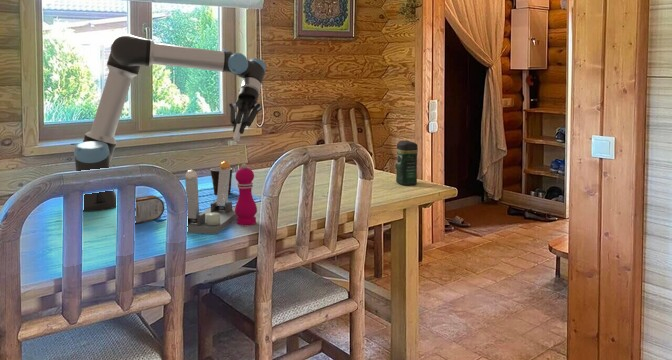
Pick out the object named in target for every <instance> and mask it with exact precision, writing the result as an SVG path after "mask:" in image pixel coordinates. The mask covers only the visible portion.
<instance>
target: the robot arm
mask: <svg viewBox="0 0 672 360" xmlns="http://www.w3.org/2000/svg"><path fill="white" fill-rule="evenodd" d="M152 65H158V66H159V65H160V66H168V67H175V68H176V67H179V68H187V69H194V70H204V71H205V70H206V71H213V72H214V71H215V72H223V73H229V74H232V75H235V76H237V77H239V78H240V79H243V80H242V81H241V85H240V88H239V89H240V90H239V92H238V96H237V100H236V101H235V102H234V103H232V102H231V103H229V105H228V106H229V107H230V124H231V125H232V127H233V128H232V132H233V136H232V138H233V140H234V143H239V142H240V139H241V136H242V135H243V134H244V132H245V129H246V127H248V128H249V127H251V126H252V124H253V122H254V121H255V119H256V117H257V115H258V114H259V112H261V110H262V106H261V104H260V103H257V102H258V100H259V95H260V92H261V88H262V84H263V81H264V78H265V75H266V69H267V66H266V63H265V62H264V60H262V59H261V58H256V57H255V58H254V57H252V58H250V59H248V58H247V57H246V56H245V55H244V54H243V53H242V52H241V53H239V52H232V51H231V50H227V49H225V48H223V49H221V50H213V49H206V48H198V47H189V46H182V45H173V44H168V43H160V42H159V43H157V42H154V41H153V40H152V39H149V38H148V39H147V38H144V37H139V36H135V35H132V34H129V33H123V34H121V35H118V36H116V37H115V38H114V39H113V40H112V43H111V45H110V53H109V55H108V58H107V61H106V67H107V69H108V73H107V77H106V79H105V83H104V87H103V90H102V93H101V97H100V99H99V103H98V106H97V110H96V112H95V116H94V119H93V122H92V125H91V129H90V130H89V131H87V132H86V133H84V137H83V140H82V142H80V143H77V144H76V145H75V146H74V147H73V149H74V151H73V156H74V162H75V163H74V164H75V172H76V171H81V170H90V169H100V168H109V167H110V168H111V163H112V160H113V155H114V153H115V152H114V151H115V148H116V146H117V141H116V139H115V135H116V131H117V129H118V125H119V123H120V120H121V119H120V118H121V116H122V112H123V110H124V107H125V104H126V101H127V96H128V93H129V90H130V87H131V83H132V81H133V79H134V77H137V76H139V72H140V68H141V67H151V66H152ZM237 108H238V109H237ZM236 110H237V112H236ZM116 196H117V194H116V191H115V189H114V190H113V191H105V192H99V193H92V194H85V195H84V211H83V212H99V211H106V210H111V209H115V208H116V207H117V206H116Z"/></svg>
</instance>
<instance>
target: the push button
mask: <svg viewBox="0 0 672 360" xmlns="http://www.w3.org/2000/svg"><path fill="white" fill-rule="evenodd" d="M218 224H220V214H219V213H207V214H206V225H218Z"/></svg>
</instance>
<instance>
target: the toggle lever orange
mask: <svg viewBox="0 0 672 360" xmlns="http://www.w3.org/2000/svg"><path fill="white" fill-rule="evenodd" d="M219 167H220V169H219V180H218V192H217V195H216V201H217V203H216V205H218V206H216V210H219V211H225V204H226V203H228V202H229V201H228V199H229V194H228V190H229V178H230V168H231V164H230V162H228V161H227V160H226V161H225V160H224V161H222V162H220V165H219Z"/></svg>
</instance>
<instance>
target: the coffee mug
mask: <svg viewBox="0 0 672 360" xmlns="http://www.w3.org/2000/svg"><path fill="white" fill-rule="evenodd" d="M219 169H220V166H218V167H212V168H210V176H211V181H212V188H213V193H214V195H215V196H217V192H218V180H219ZM232 177H233V168H232V167H230V178H229V190H228V195H230V194H231V193H232V192H231V191H232V179H233V178H232Z"/></svg>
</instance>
